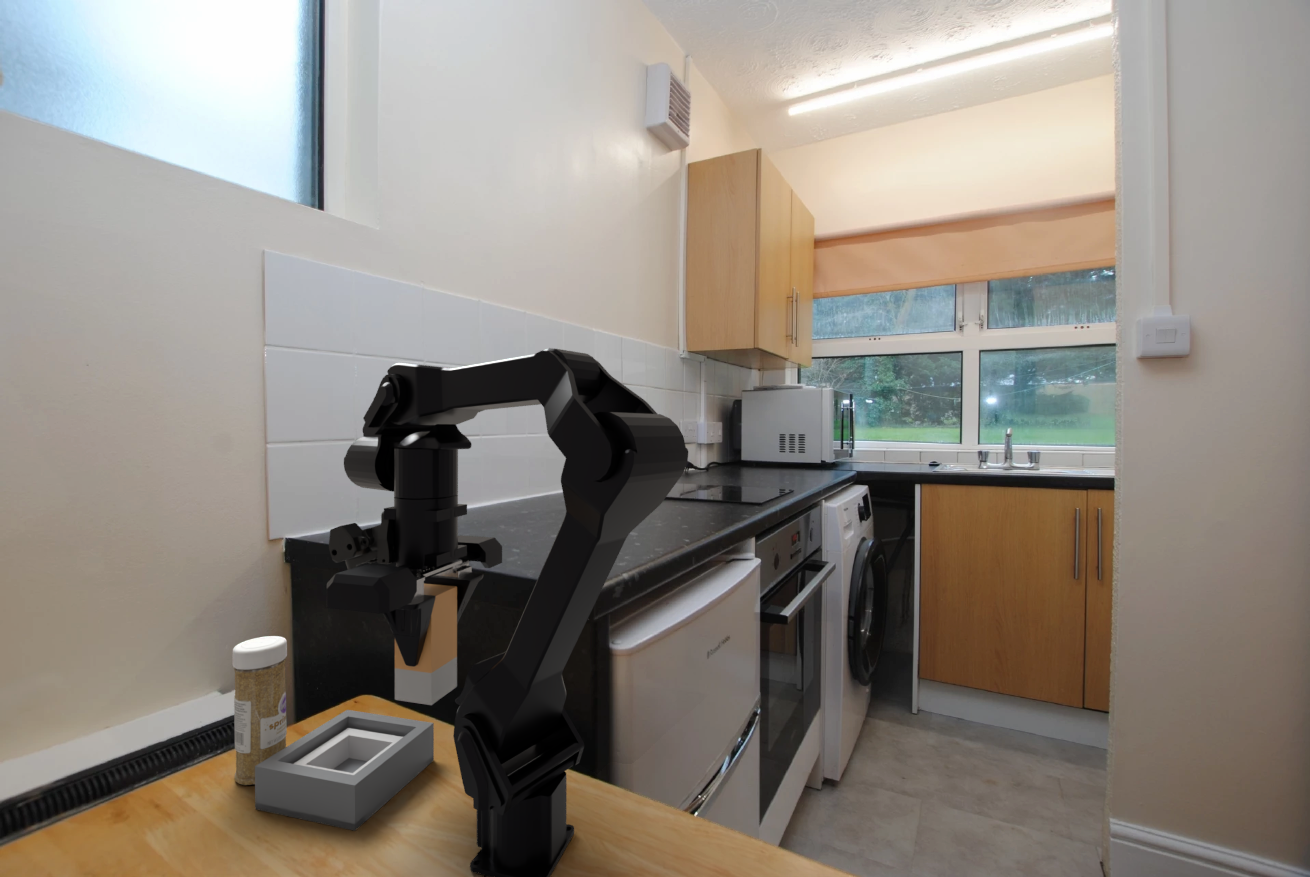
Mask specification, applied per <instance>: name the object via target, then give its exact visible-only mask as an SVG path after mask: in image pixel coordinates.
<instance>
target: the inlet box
mask: <svg viewBox="0 0 1310 877" xmlns="http://www.w3.org/2000/svg"><path fill="white" fill-rule="evenodd" d="M434 727H435V726H434V722H430V721H425V720H416V719H411V718H410V719H409V718H403V717H398V716H391V715H385V714H384V715H383V714H378V713H370V712H365V711H364V712H363V711H359V710H358V711H356V710H352V709H346V710H344V711H342V712H341V713H339V714H338V715H336V716H335V717H332V718H331V719H330V720H328V721H326V722H324V723H323V724H321V725H320V726H318V727H317V728H315V729H313V730H312V731H310V732H309V733H307V734H305V735H304V736H302V737H300V738H299V739H297V740H296V741H294V742H291V744H289V745H286V748H284V749H282V750H281V751H279V752H277V753H276V754H274V755H272V756H271V757H269V758H268V759H266V760H264V761H263V762H261V763H259V764H258V765H256V766H255V784H254V793H255V794H254V801H255V802H254V804H255V805H254V806H255V810H258V811H262V812H265V813H266V812H267V813H271V814H276V815H280V816H285V817H291V818H294V819H300V820H303V821H309V822H313V823H318V824H321V825H327V826H333V827H334V828H335V827H336V828H340V829H345V830H350V831H354V832H355V831H357V830H358V829H359V828H360V827H361V826H362V825H363V824H364V823H366V821H368V820H369V819H370V818H371V817H373V815H375V813H376V812H378V811H379V810H380V809H381V808H382V807H383V806H385V804H387V803H388V802H389V801H390V800H391V799H392V798H393V797H395V795H397V794H398V793H399V792H400V791H401V790H403V788H405V786H407V785H408V784H409V783H410V782H411V781H412V780H414V779H415V778H416V777H417V776H418V775H419V774H420V773H422V772H423V771H424V770H425V769H426V768H427V767H428V766H429V765H431V764H432V763H433V762H434V761H435V759H434V757H435V754H434V753H435V752H434V751H435V750H434V749H435V747H434V744H435V743H434V740H435V739H434V737H435V736H434V734H435V732H434V730H435V728H434Z"/></svg>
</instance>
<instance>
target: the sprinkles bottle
mask: <svg viewBox="0 0 1310 877" xmlns="http://www.w3.org/2000/svg"><path fill="white" fill-rule="evenodd" d="M287 656H288V641H287V639H286V638H285V637H284V636H280V635H279V636H278V635H270V636H269V635H268V636H260V637H254V638H251V639H247V640H244V641H242V642H239V643H238V644H236V645H235V646H234V647H233V648H232V657H231V658H232V664H231V665H232V668H233V670H234V697H233V703H234V705H233V707H234V708H233V711H234V714H233V715H234V750H235V768H236V769H235V773H234V781H235V782H236V783H237V784H239V785H243V786H251V785H255V766H256V765H258V764H259V763H261V762H263V761H264V760H266V759H268V758H269V757H271V756H272V755H274V754H276V753H277V752H279V751H281V750H282V749H284V748H286V747H287V732H288V731H287V693H286V662H287V661H286V660H287V659H286V658H287Z"/></svg>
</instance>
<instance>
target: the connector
mask: <svg viewBox="0 0 1310 877" xmlns="http://www.w3.org/2000/svg"><path fill="white" fill-rule="evenodd" d="M424 595H432V596H436V598H435V602H434V606H433V610H432V614H431V618H430V622H429V626H428V630H427V634H426V638H425V642H424V646H423V650H422V653H421V656H420V660H419V663H418V665H416V666H415V667H412V666H407V665H406V664H405V662H404V660H403V657H402V655H401V652H400V650H399V647H398V645H397V642H396V640H395V639H394V700H395V701H400V702H406V703H407V702H408V703H415V704H422V705H425V706H426V705H427V706H433V705H434V704H435V703H437V702H438V701H440V699H441V700H442V698H443V697H445V696H446V695H447V694H449V693H450V692H452V691H453V690H454V689H456V688H457V687H458V624H457V586H446V585H435V584H424Z"/></svg>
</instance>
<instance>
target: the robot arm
mask: <svg viewBox="0 0 1310 877" xmlns="http://www.w3.org/2000/svg"><path fill="white" fill-rule="evenodd" d="M386 372H387V374H385V375H384V376H383V377H382V379H381V381H380V382H379V386H378V388H377V390H376V393H375V396H374V397H373V401H372V402H371V404H370V406H369V407H368V409H367V410H366V411H365V414H364V416H363V421H364V424H363V427H362V434H363V436H361V437H359V438H358V439H356V440H354V441H353V443H351V444H350V446H349V448H348V449H347V451H346V454H345V456H344V457H343V467H344V472H345V473H346V477H347V478H348V479H349V480H350V481H351V483H353V484H354V485H355V486H357V487H360V488H364V489H370V490H378V491H386V492H393V493H394V494H393V495H394V497H393V506H388V507H384V508H383V511H382V512H381V515H380V516H381V517H380V519H381V520H380V524H379V525H375V526H372V527H369V528H368V527H367V528H364V529H362V528H361V527H360V526H359V524H358V523H356V522H353V523H348V524H344V525H339V526H337V527H334V528H331V529H329V540H328V550H329V553H330V557H331V560H332V561H333V562H334V563H336V564H339V563H342V562H345V565H346V568H347V569H346V570H344V571H343V570H342V571H340V572H337V573H334V574H333V576H332V577H331V578H330V580H328V581H327V583H326V608H327V609H331V610H339V611H342V610H343V611H349V612H350V611H351V612H358V613H359V612H360V613H368V614H378V615H379V614H382V615H383V617H384V619H385V620H386V623H387V624H388V626H389V627H390V631H391V632H392V635H393V637H394V641H395V640H396V642H397V645H398V647H399V650H400V652H401V655H402V657H403V660H404V662H405V664H406V665H407V666H412V667H415V666H416V665H418V663H419V660H420V656H421V653H422V650H423V646H424V642H425V638H426V634H427V630H428V626H429V622H430V618H431V614H432V610H433V606H434V602H435V598H436V596H432V595H424V584H435V585H446V586H457V625H458V623H459V621H460V619H461V616H462V614H463V613H464V610H465V609H466V608H467V605H468V603H469V602H470V599H471V597H472V595H473V593H474V591H475V589H476V587H477V586H478V584H479V582H480V581H481V580H483V578H484V572H475V571H474V572H473V571H472V565H470V562H478V563H479V562H480V563H481V565H482V566H483V567H484V568H485V569H492V568H493V567H495V566H497V565H500V564H502V563H503V545H502V544H501V543H500V542H499V541H498V539H496V537H491V536H478V535H475V536H474V535H461V534H459V517H462V516H467V514H468V504H467V503H459V450H469V449H471V448H472V442H471V440H469V438H468V437H467V436H466V435H465V434H463V433H462V432H461V431H460V429H459V427H458V426H457V425H461V424H462V423H465V422H467V421H471V420H473V419H475V418H476V417H477V415H478V413H481V412H483V411H488V410H497V409H508V408H516V407H519V408H520V407H529V406H537V405H541V406H542V407H543V410H544V411H543V412H544V417H545V423H546V430H547V431H546V432H547V435H548V437H549V438H550V439H551V441H552V442H553V443H554V445H555V446H556V448H557V449H558V450H559V451H560V452H561V454H562V455H563V456H564V457H565V460H564V464H563V468H562V471H561V474H560V475H561V476H560V483H561V484H560V485H561V489H562V495H563V501H564V506H565V515H564V516H563V517H564V518H563V520H562V522H561V525H560V527H559V530H558V532H557V535H556V536H555V538H554V541H553V543H552V546H551V548H550V550H549V552H548V553H547V554H548V555H547V557H546V559H545V561H544V564H543V566H542V569H541V571H540V573H539V576H538V578H537V580H536V582H535V585H534V587H533V588H532V592H531V594H530V596H529V599H528V601H527V602H526V605H525V608H524V610H523V612H522V615H521V617H520V620H519V621H518V624H517V626H516V628H515V631H514V633H513V635H512V638H511V640H510V642H509V644H508V647H507V649H506V651H504V652H501V653H499V654H497V655H494V656H492V657H489V658H487V659H484V660H481V661H479V662H477V663H474V664H473V665H472V666H471V667H470V669H469V671H468V672H467V675H466V677H465V682H464V687H463V688H462V690H461V692H460V694H459V695H458V696H457V697H456V698H455V699H454V702H455V704H456V705H459V706H458V708H457V710H456V715H455V718H454V726H453V727H454V728H453V741H454V747H455V751H456V755H457V756H456V757H457V762H458V765H459V771H460V777H461V780H462V784H463V790H464V793H465V795H467V796H468V797H470V798H472V801H473V803H472V805H473V809H474V810H476V846H477V847H478V848H480V850H479V851H478V852H477V853H476V855H475V856H474V857H473V858H472V860H471V861H470V863H469V865H470V866H469V870H470V872H472V873H473V874H479V875H482V876H483V875H484V876H487V877H550V876H551V875H552V874H553V871H554V870H555V868H556V866H557V864H558V863H559V861H560V859H561V858H562V856H563V854H564V852H565V851H566V849H567V847H568V845H569V843H570V842H571V840H572V838H573V837H574V834H575V826H574V825H572V824H567V772H566V771H568V770H569V769H570V768H571V767H575V766H576V765H578V764H580V762H581V758H582V756H583V752H584V749H585V742H584V740H583V739H582V737H581V735H580V734H579V732H578V730H577V728H576V726H575V725H574V723H573V721H572V719H571V718H570V716H569V714H568V713H567V711H566V709H565V707H564V706H565V703H566V699H567V690H566V685H565V683H564V682H565V681H564V678H563V673H564V672H563V671H564V668H565V667H566V666H567V663H568V660H569V659H570V656H571V654H572V652H573V650H574V649H575V646H576V644H577V642H578V640H579V638H580V636H581V634H582V631H583V629H584V627H585V625H586V623H587V621H588V619H589V617H590V616H591V613H592V611H593V608H594V606H595V605H596V602H597V601H598V599H599V596H600V593H601V592H602V590H603V588H604V586H605V583H606V581H607V579H608V577H609V575H610V573H611V570H613V567H614V565H615V563H616V561H617V558H618V557H619V555H620V552H621V550H622V548H623V546H624V544H625V542H626V539H627V538H628V536H629V535H630V534H631V532H632V531H633V530H635V529H636V528H637V527H638V526H639V525H640V524H641V523H642V522H644V520H646V518H648V517H649V516H650V515H651V514H652V513H653V512H654V511H656V509H658V508H659V507H660V506H661V504H663V502H664V500H666V498H667V496H669V494H670V492H671V491H672V489H673V488H674V487H675V486H676V484H677V483H678V481H679V480H680V479H681V477H682V475H683V474H684V472H685V470H686V467H687V464H688V461H689V449H688V448H687V447H686V442H685V438H684V435H683V433H682V431H681V428H679V426H678V425H677V424H676V423H675V422H674V420H672V419H671V418H670V417H667V416H665V415H663V414H660V413H659V414H658V412H656V410H655V409H654V408H653V407H652V406H651V405H650V404H649V403H648V402H647V401H646V400H645V399H644V398H642V397H641V396H640V395H638V394H637V393H635V392H634V391H633V390H631V389H630V388H628V387H627V386H625V385H624V384H623V383H622V382H620V381H618V380H617V379H616V378H614V377H613V376H612V375H611V374H610V373H609V371H607V369H606V368H605V367H604V366H603V365H602V364H601V363H600V361H598V360H596V359H595V357H593V356H591V355H590V354H589V353H585V352H584V353H583V352H580V351H579V352H578V351H573V350H566V349H560V348H559V349H558V348H553V347H549V348H546V349H543V350H539V351H538V352H536V353H532V354H528V355H527V354H526V355H521V356H516V357H510V358H504V359H499V360H498V359H497V360H493V361H487V362H481V363H475V364H469V365H465V366H459V367H445V366H435V365H427V364H426V365H425V364H416V363H407V362H406V363H405V362H397V363H394V364H392V365H391V366H390V367H389V368H388V369H387V371H386ZM367 563H368V564H367ZM373 563H374V564H373ZM375 563H377V564H375ZM378 564H380V565H378ZM381 564H382V565H381ZM390 564H395V566H390ZM388 565H389V566H388Z"/></svg>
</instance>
